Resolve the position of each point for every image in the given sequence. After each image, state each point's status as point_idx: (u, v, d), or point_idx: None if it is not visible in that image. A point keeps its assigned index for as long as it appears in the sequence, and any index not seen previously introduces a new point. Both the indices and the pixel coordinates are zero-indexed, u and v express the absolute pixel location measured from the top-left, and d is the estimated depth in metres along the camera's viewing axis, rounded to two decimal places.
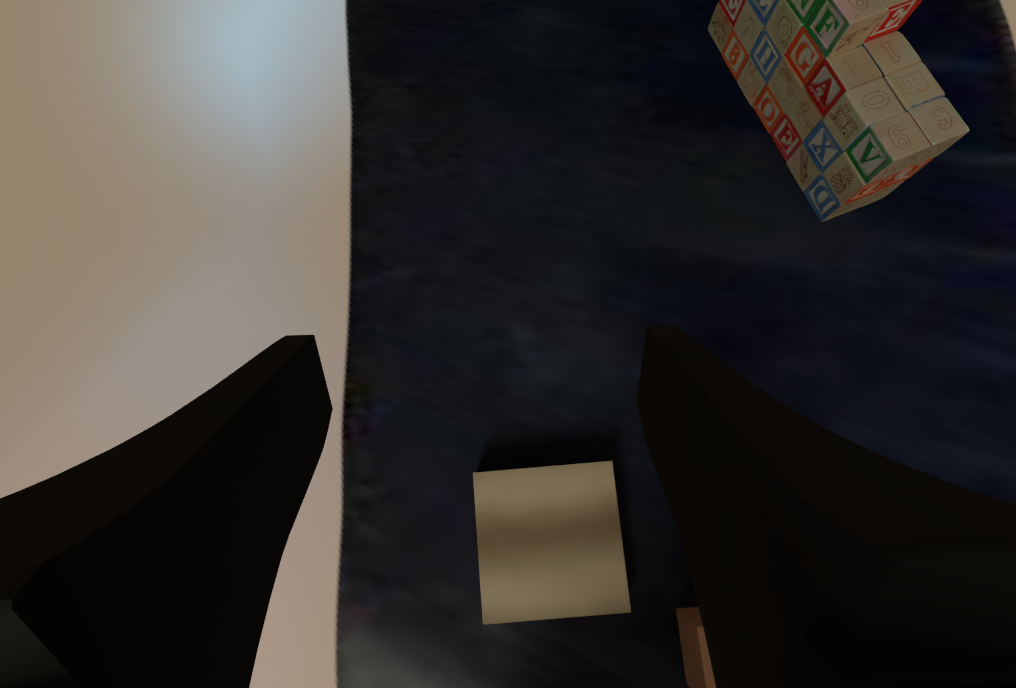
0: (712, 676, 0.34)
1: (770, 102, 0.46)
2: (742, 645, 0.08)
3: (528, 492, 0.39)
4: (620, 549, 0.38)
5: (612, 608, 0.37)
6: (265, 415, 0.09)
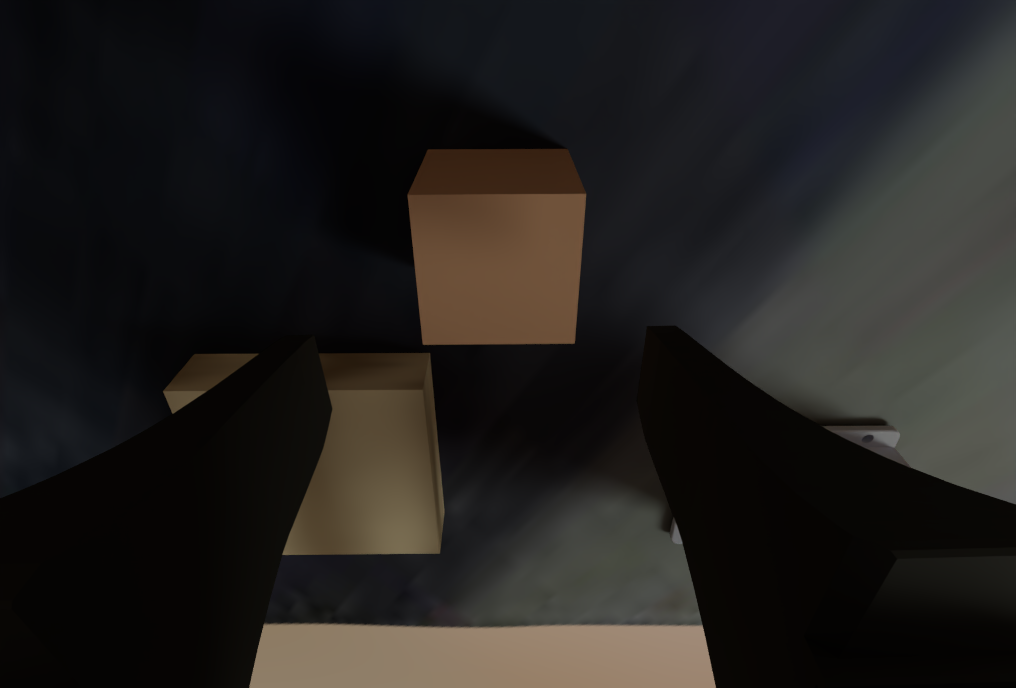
0: (512, 331, 0.17)
1: None
2: (742, 645, 0.08)
3: None
4: None
5: (416, 413, 0.22)
6: (265, 415, 0.09)
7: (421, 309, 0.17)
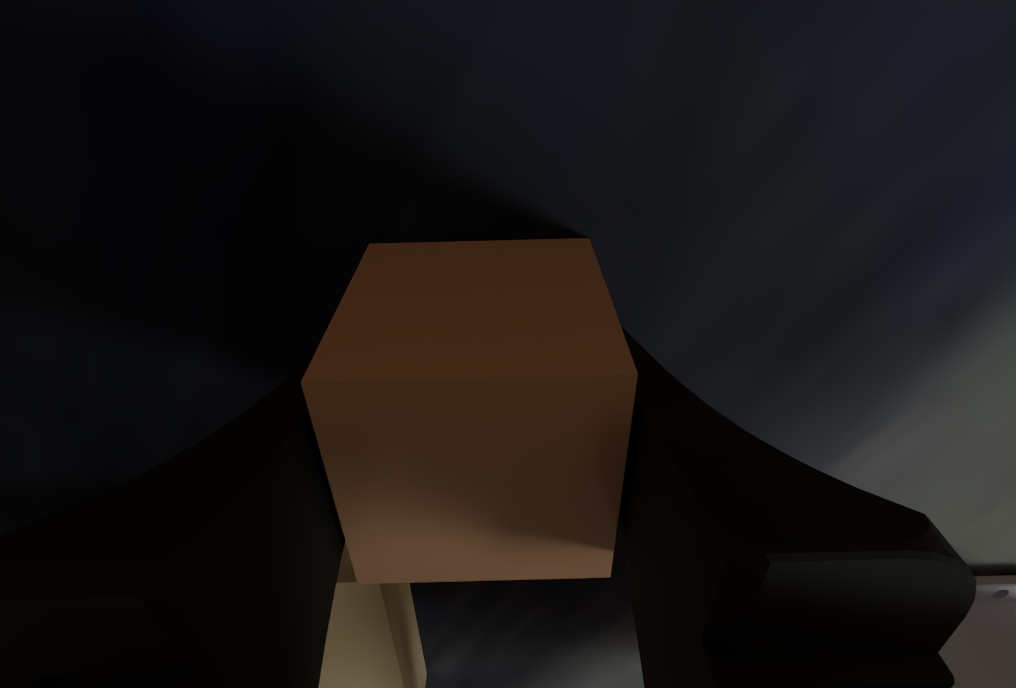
0: (506, 565, 0.10)
1: None
2: (662, 647, 0.08)
3: None
4: None
5: (373, 608, 0.15)
6: None
7: (349, 540, 0.10)
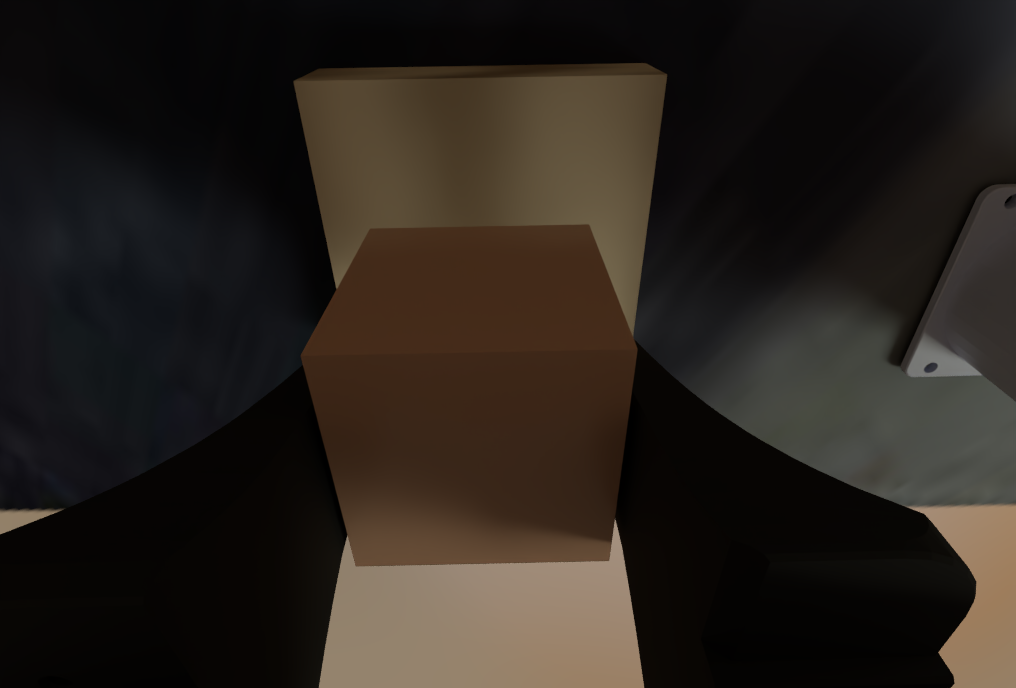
0: (504, 548, 0.10)
1: None
2: (661, 647, 0.08)
3: None
4: (517, 85, 0.15)
5: (649, 122, 0.15)
6: None
7: (347, 520, 0.10)
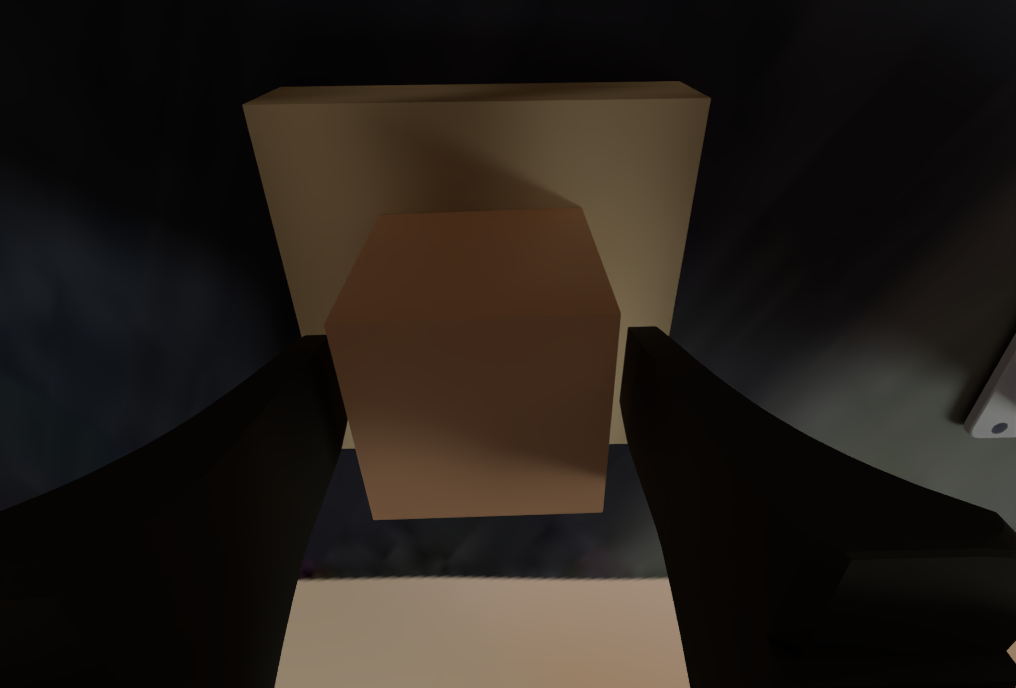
0: (507, 500, 0.11)
1: None
2: (713, 646, 0.08)
3: None
4: (523, 110, 0.12)
5: (686, 156, 0.12)
6: (289, 414, 0.09)
7: (366, 476, 0.11)
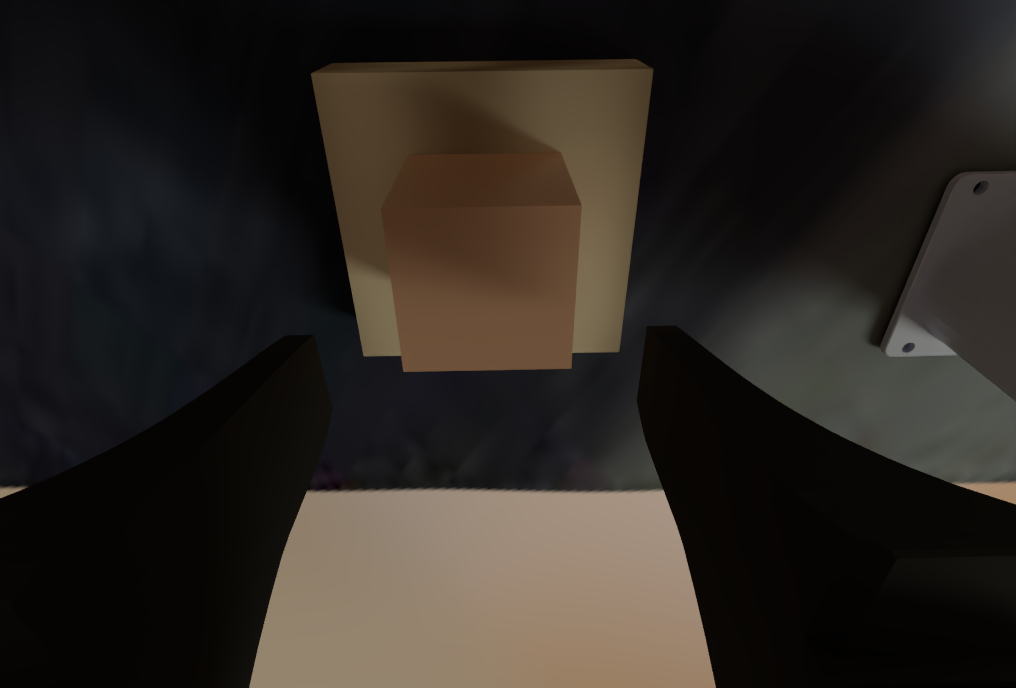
0: (502, 356, 0.15)
1: None
2: (743, 645, 0.08)
3: None
4: (516, 78, 0.16)
5: (637, 113, 0.17)
6: (265, 415, 0.09)
7: (400, 333, 0.15)
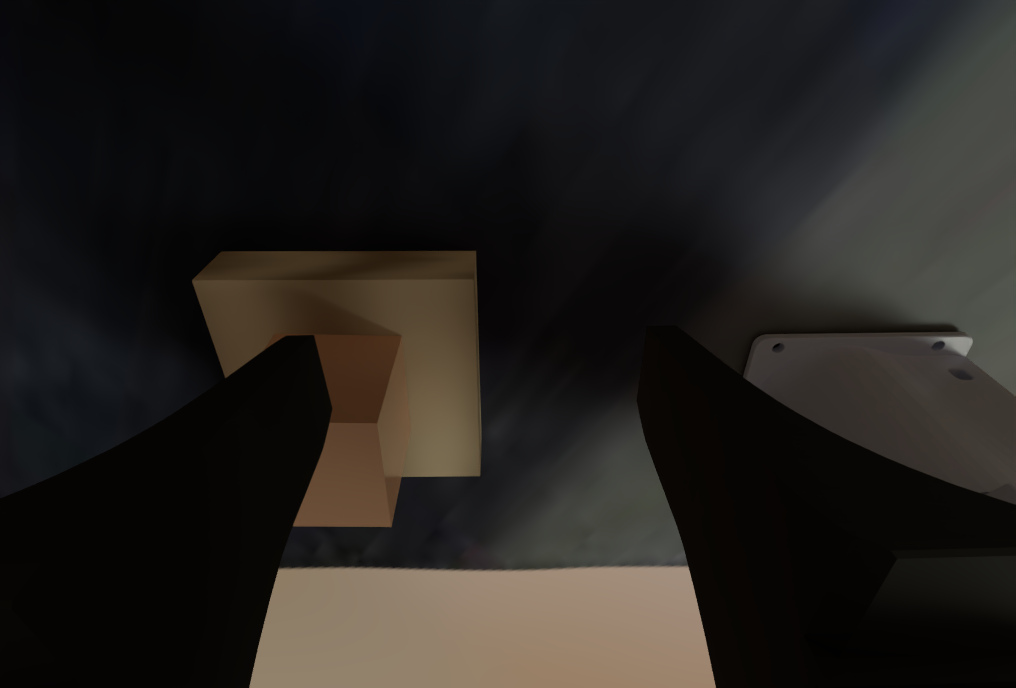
0: (332, 518, 0.19)
1: None
2: (742, 645, 0.08)
3: None
4: (361, 285, 0.20)
5: (465, 308, 0.20)
6: (265, 415, 0.09)
7: None
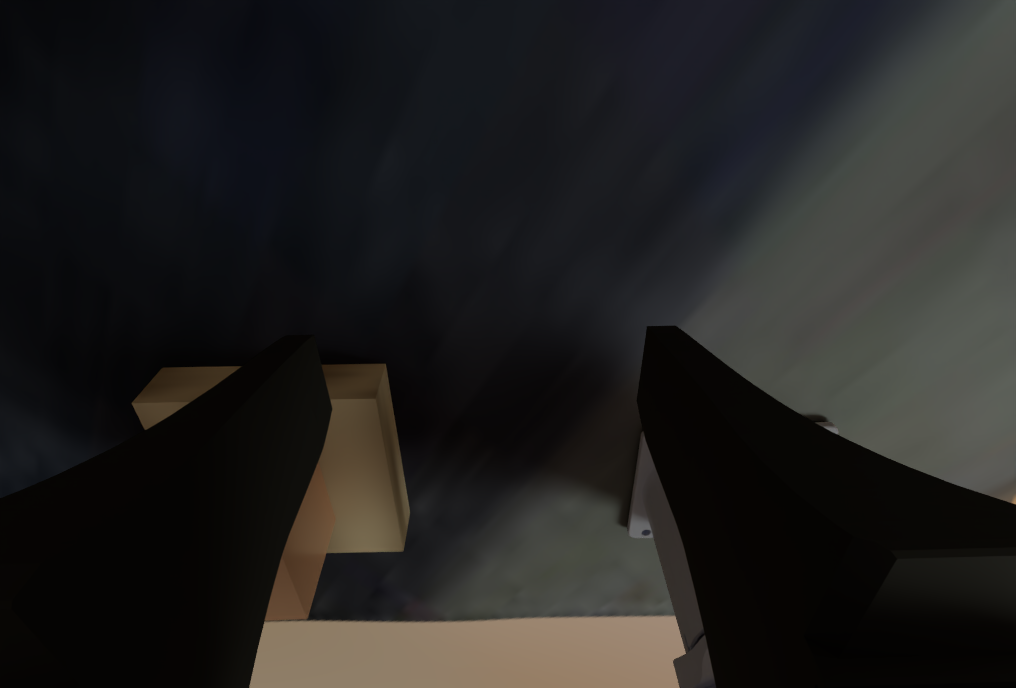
0: None
1: None
2: (742, 645, 0.08)
3: None
4: None
5: (371, 421, 0.23)
6: (265, 415, 0.09)
7: None
